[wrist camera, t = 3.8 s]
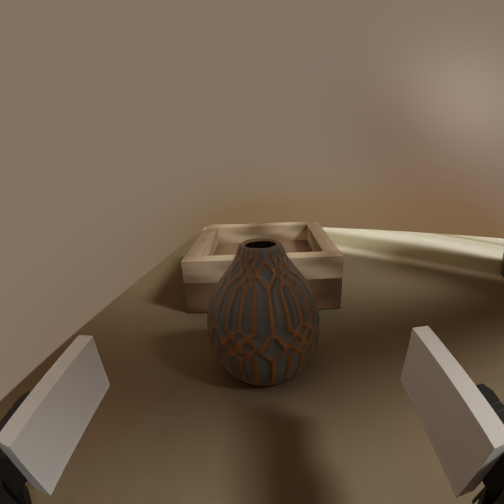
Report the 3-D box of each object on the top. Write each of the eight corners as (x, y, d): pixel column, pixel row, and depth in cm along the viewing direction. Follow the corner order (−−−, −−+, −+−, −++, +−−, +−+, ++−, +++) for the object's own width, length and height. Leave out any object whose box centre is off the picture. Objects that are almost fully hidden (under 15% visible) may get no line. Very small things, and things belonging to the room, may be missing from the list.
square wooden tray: (316, 258, 41) (316, 221, 40) (340, 307, 28) (343, 256, 26) (210, 262, 42) (207, 225, 40) (188, 312, 28) (180, 262, 27)
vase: (196, 363, 21) (178, 243, 18) (271, 330, 25) (268, 223, 22) (255, 419, 16) (246, 275, 13) (336, 368, 20) (347, 242, 17)
